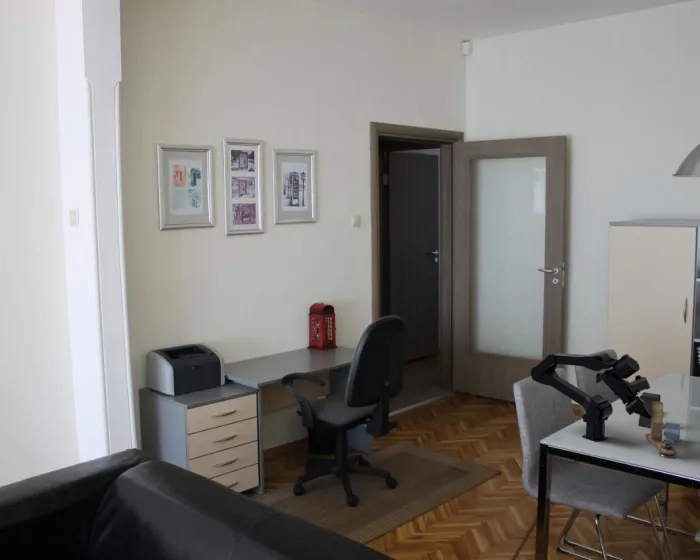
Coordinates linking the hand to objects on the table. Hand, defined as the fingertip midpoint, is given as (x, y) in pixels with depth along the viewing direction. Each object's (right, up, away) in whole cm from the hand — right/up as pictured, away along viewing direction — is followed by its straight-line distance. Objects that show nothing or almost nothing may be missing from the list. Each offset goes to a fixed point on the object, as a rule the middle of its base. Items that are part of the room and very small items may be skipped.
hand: (650, 418), depth 249 cm
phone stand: (+10, -7, +24) cm, 27 cm away
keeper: (+10, -9, +5) cm, 14 cm away
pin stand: (+2, -11, -9) cm, 14 cm away
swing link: (+2, -9, -3) cm, 10 cm away
